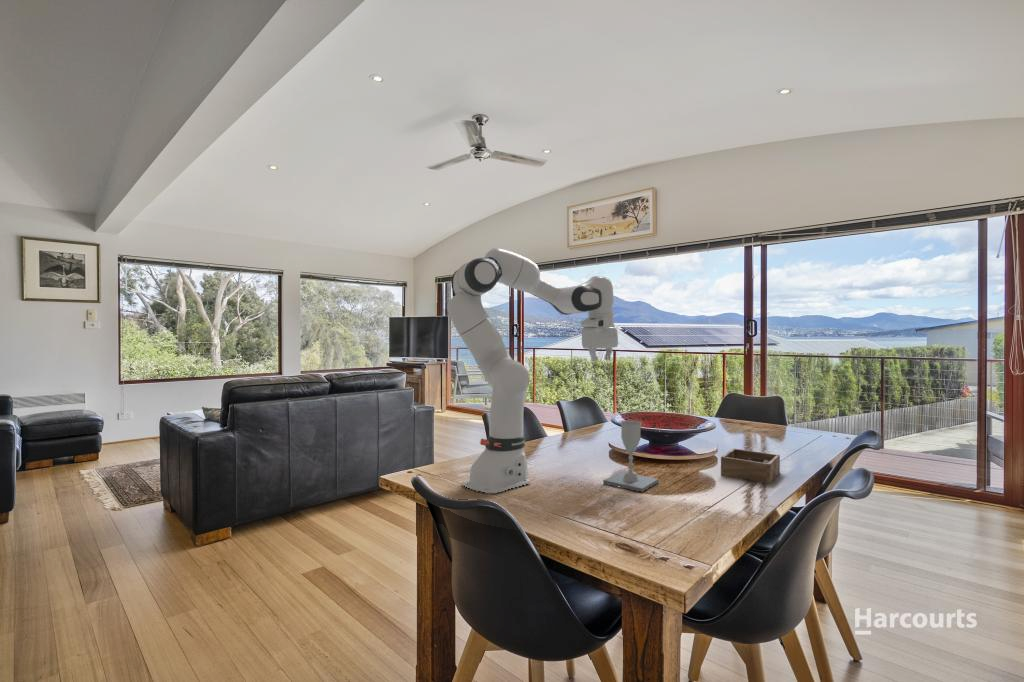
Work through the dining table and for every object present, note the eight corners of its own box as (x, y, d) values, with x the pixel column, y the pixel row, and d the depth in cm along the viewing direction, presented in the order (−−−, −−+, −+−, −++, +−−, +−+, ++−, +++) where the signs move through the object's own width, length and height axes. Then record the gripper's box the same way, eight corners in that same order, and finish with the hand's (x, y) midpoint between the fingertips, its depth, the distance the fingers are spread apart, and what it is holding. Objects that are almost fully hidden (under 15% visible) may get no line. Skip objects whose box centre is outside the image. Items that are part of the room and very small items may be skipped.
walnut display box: (769, 483, 151) (769, 464, 151) (720, 474, 161) (720, 456, 161) (779, 472, 163) (779, 455, 163) (733, 465, 172) (733, 448, 172)
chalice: (641, 484, 148) (641, 425, 147) (618, 481, 150) (618, 423, 150) (642, 477, 155) (642, 420, 154) (621, 475, 157) (621, 419, 157)
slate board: (642, 492, 144) (642, 488, 144) (603, 483, 152) (603, 480, 152) (658, 482, 153) (658, 478, 153) (621, 474, 161) (621, 471, 161)
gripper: (607, 322, 184) (607, 359, 184) (578, 322, 168) (578, 362, 168) (622, 322, 180) (622, 359, 180) (594, 321, 164) (594, 362, 164)
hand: (600, 360), depth 174 cm, fingers open, 8 cm apart
